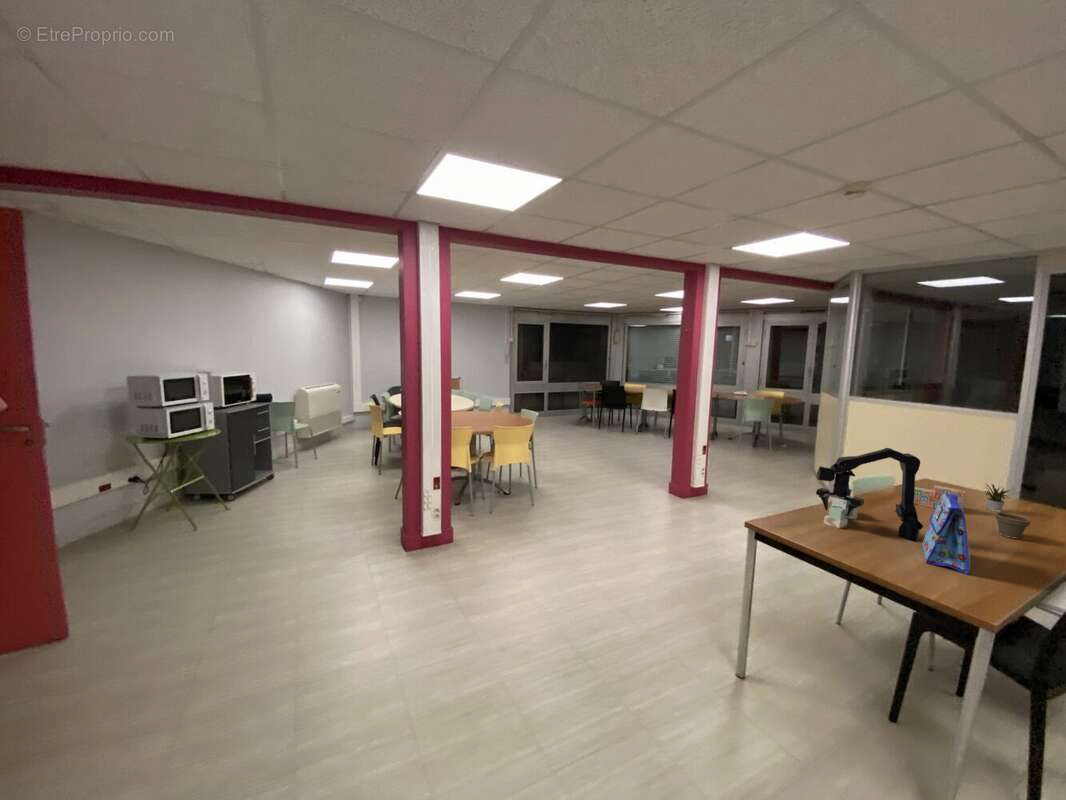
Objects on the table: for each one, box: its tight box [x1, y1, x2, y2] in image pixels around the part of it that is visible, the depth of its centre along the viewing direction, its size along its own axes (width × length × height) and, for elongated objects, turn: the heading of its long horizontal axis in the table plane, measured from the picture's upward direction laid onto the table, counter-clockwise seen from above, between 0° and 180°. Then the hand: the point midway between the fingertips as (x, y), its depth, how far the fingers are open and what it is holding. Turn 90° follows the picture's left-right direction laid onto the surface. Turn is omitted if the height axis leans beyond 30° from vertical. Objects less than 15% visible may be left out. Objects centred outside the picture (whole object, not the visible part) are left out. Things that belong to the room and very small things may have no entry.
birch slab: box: [823, 514, 849, 530], centre depth 211 cm, size 7×7×4 cm
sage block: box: [828, 505, 845, 521], centre depth 211 cm, size 5×5×5 cm
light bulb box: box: [831, 495, 859, 520], centre depth 225 cm, size 11×7×11 cm, turn 179°
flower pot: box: [994, 512, 1031, 539], centre depth 208 cm, size 12×11×10 cm
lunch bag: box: [921, 493, 971, 575], centre depth 178 cm, size 22×14×29 cm, turn 141°
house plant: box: [983, 483, 1017, 511], centre depth 244 cm, size 14×14×16 cm
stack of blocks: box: [914, 485, 967, 511], centre depth 244 cm, size 21×6×12 cm, turn 55°
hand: (837, 513), depth 211 cm, fingers open, 9 cm apart
